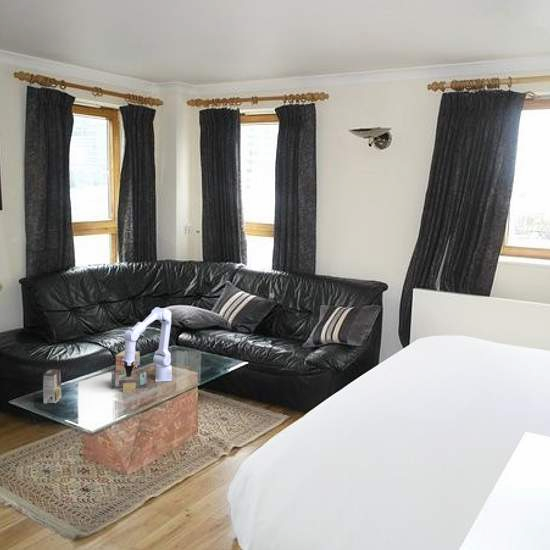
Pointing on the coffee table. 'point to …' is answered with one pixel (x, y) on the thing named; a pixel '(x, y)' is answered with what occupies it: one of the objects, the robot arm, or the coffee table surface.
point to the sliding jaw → (143, 378)
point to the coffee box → (52, 386)
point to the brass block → (129, 387)
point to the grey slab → (119, 383)
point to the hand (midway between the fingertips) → (128, 375)
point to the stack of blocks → (120, 363)
